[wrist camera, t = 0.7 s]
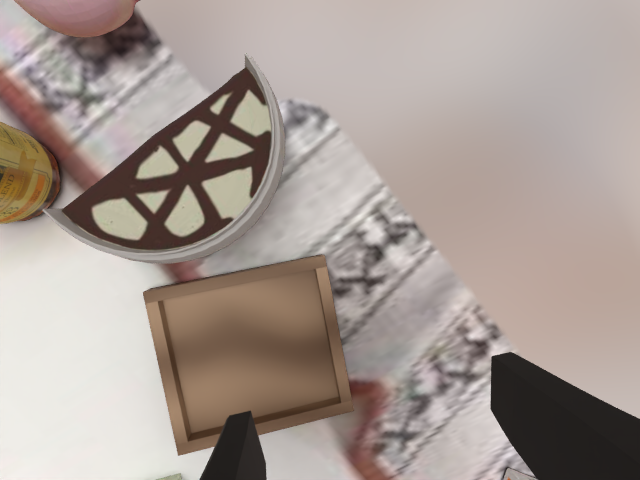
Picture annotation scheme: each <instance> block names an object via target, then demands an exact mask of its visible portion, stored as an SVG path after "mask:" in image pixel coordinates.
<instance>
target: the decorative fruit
mask: <svg viewBox="0 0 640 480" xmlns="http://www.w3.org/2000/svg"><path fill="white" fill-rule="evenodd" d="M14 1H15V2H16V3H18V4H19V5H20V6H21V7H22V8H23V9H24V10H25V11H26V12H28V13H29V14H30V15H31V16H32V17H34V18H35V19H36V20H38V21H39V22H40V23H42V24H43V25H45V26H47V27H48V28H50V29H52V30H54V31H56V32H59V33H62V34H65V35H69V36H74V37H95V36H100V35H103V34H106V33H108V32H111V31H113V30H115V29H117V28H119V27H120V26H122V25H123V24H124V23H126V22H127V21H128V20H129V19H130V17H131V16H132V14H133V11H134V7H135V4H136V2H138V1H140V0H14Z"/></svg>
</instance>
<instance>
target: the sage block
mask: <svg viewBox="0 0 640 480" xmlns="http://www.w3.org/2000/svg"><path fill="white" fill-rule="evenodd" d="M157 480H182V478H181V474H176V475H172V476H168V477H164V478H161V479H157Z"/></svg>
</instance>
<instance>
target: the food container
mask: <svg viewBox="0 0 640 480" xmlns="http://www.w3.org/2000/svg"><path fill="white" fill-rule="evenodd" d="M284 157H285V133H284V126H283V120H282V115H281V112H280V109H279V106H278V102H277V99H276V97H275V95H274V93H273V91H272V89H271V87H270V85H269V83H268V81H267V79H266V78H265V76H264V74H263V73H262V71H261V70H260V68H259V67H258V65H257V64H256V62H255V61H254V59H253V58H252V57H251V58H249V57H248V55H247V53H246V54H245V68H244V69H243V70H242V71H240V72H239V73H237V74H236V75H234V76H233V77H232V78H231V79H230V80H229V81H228V82H227V83H226V84H224V85H223V86H222V87H221V88H220V89H219V90H217V91H216V92H214V93H213V94H212V95H210V96H209V97H208V98H206V99H205V100H204V101H202V102H201V103H199V104H198V105H197V106H195V107H194V108H192V109H191V110H190V111H188V112H187V113H186V114H184V115H183V116H181V117H180V118H178V119H177V120H175V121H174V122H172V123H171V124H169V125H168V126H166V127H165V128H163V129H162V130H161V131H159V132H158V133H156V134H155V135H153V136H152V137H151V138H150V139H149V140H147V141H146V142H145V143H144V144H143V145H142V146H140V147H139V148H138V149H137V150H136V151H135V152H134V153H133V154H132V155H130V156H129V157H128V158H127V159H126V160H124V161H123V162H122V163H121V164H120V165H118V166H117V167H116V168H115V169H114V170H112V171H111V172H110V173H109V174H107V175H106V176H105V177H104V178H102V179H101V180H100V181H98V182H97V183H96V184H95V185H93V186H92V187H91V188H89V189H88V190H87V191H85V192H84V193H83V194H82V195H80V196H79V197H78V198H76V199H75V200H74V201H73V202H71V203H70V204H69V205H67V206H66V207H65V208H64V209H43V210H42V211H43V212H45V213H46V214H47V215H48V216H49V217H50V218H51V219H52V220H53V221H54V222H55V223H56V224H57V225H58V226H60V227H61V228H62V229H63V230H65V231H66V232H68V233H69V234H70V235H72V236H73V237H75V238H76V239H78V240H79V241H81V242H83V243H85V244H87V245H89V246H91V247H93V248H95V249H97V250H100V251H103V252H106V253H109V254H113V255H116V256H119V257H122V258H126V259H129V260H133V261H140V262H146V263H177V262H184V261H191V260H194V259H197V258H201V257H204V256H207V255H210V254H212V253H214V252H216V251H218V250H220V249H223V248H225V247H227V246H228V245H230V244H231V243H232V242H234V241H235V240H237V239H238V238H240V237H241V236H242V235H244V234H245V233H246V232H247V231H248V230H249V229H250V228H251V227H252V226H253V225H254V224H255V223H256V222H257V221H258V219H259V218H260V217H261V215H262V214H263V213H264V211H265V210H266V209H267V207H268V205H269V203H270V201H271V199H272V198H273V196H274V194H275V192H276V189H277V186H278V183H279V180H280V177H281V174H282V169H283V163H284Z"/></svg>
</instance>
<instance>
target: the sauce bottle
mask: <svg viewBox="0 0 640 480" xmlns="http://www.w3.org/2000/svg"><path fill="white" fill-rule="evenodd" d="M60 183H61V181H60V177H59V170H58V166H57V162H56V160H55V158H54V156H53V155H52V154H51V153H50V152H49V151H48V150H47V149H46V148H45V147H44V146H42V145H41V144H40V143H39V142H37V141H36V140H35V139H34V138H33V137H31V136H30V135H28V134H26V133H24V132H22V131H20V130H18V129H15V128H13V127H11V126H9V125H6V124H4V123H2V122H0V224H3V223H10V222H15V221H25V220H28V219H31V218H32V217H36V216H39V215H40V214H41V213H42V212H43V211H42V210H43V209H47V208H48V207H49V206H50V204H51V203H52V202H53V201H54V198H55V197H56V196H57V194H58V192H59V190H60Z"/></svg>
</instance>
